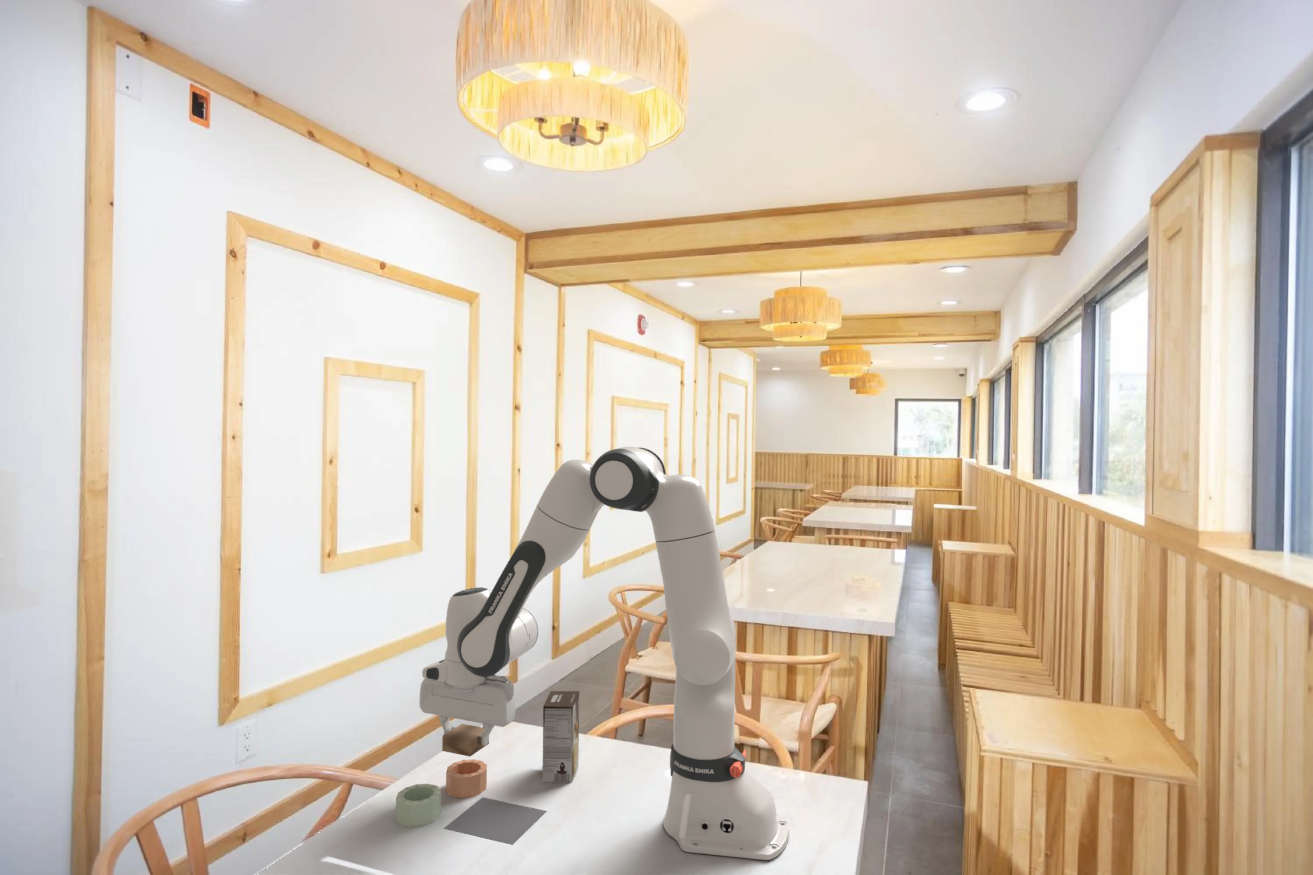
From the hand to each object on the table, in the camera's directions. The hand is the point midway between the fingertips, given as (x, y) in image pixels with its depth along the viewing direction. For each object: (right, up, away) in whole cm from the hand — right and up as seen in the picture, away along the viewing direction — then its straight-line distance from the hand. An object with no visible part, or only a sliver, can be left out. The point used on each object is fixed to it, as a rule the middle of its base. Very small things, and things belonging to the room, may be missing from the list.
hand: (466, 740), depth 143 cm
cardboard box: (0, -1, 0) cm, 1 cm away
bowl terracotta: (0, -10, 0) cm, 10 cm away
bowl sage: (-6, -10, -11) cm, 16 cm away
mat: (+9, -10, -12) cm, 18 cm away
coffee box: (+18, -10, +7) cm, 22 cm away
